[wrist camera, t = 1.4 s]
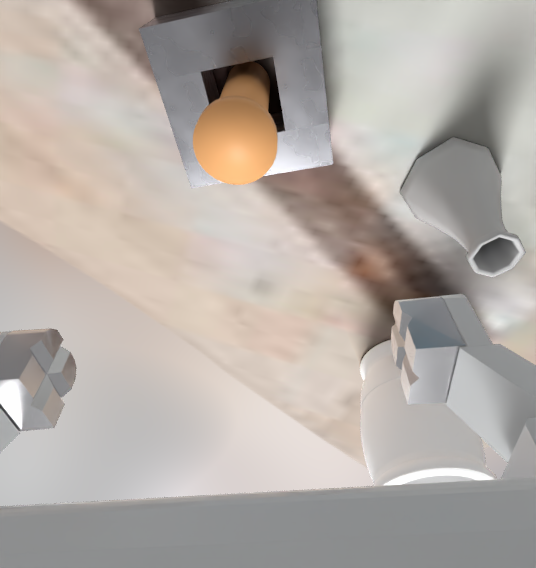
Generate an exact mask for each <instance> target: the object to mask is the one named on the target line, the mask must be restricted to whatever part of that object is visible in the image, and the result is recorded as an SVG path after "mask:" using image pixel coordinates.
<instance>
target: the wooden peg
mask: <svg viewBox="0 0 536 568" xmlns="http://www.w3.org/2000/svg"><path fill="white" fill-rule="evenodd" d="M269 94H270V79H269V76H268V74H267V72H266V70H265V69H264V68H263V67H262V66H261V65H259V64H258V63H256V62H253V61H250V62H245V63H240V64H236V65H235V66H234V67H233V68H232V69H231V71H230V72H229V74H228V77H227V80H226V82H225V85H224V88H223V91H222V93H221V96H220V98H219V99H217V100H215V101H213V102H212V103H211V104H209V105H208V106H207V107H206V108H205V109H204V111H203V112H202V114H201V115H200V117H199V119H198V122H197V124H196V126H195V129H194V133H193V149H194V153H195V155H196V158H197V160H198V162H199V164H200V165H201V166H202V168H203V169H204V170H205V171H206V172H207V173H208V174H209V175H211V176H212V177H213V178H215V179H217V180H219V181H221V182H224V183H228V184H234V185H241V184H247V183H251V182H254V181H256V180H258V179H259V178H261V177H262V176H263V175H265V174H266V173H267V172H268V170H269V169H270V168H271V166H272V165H273V163H274V161H275V158H276V154H277V141H278V135H277V129H276V125H275V123H274V120H273V118H272V117H271V115H270V114H269V112H268V107H269Z"/></svg>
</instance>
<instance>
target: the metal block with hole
mask: <svg viewBox="0 0 536 568" xmlns="http://www.w3.org/2000/svg"><path fill="white" fill-rule="evenodd" d="M139 30H140V33H141V36H142V39H143V42H144V45H145V49H146V52H147V55H148V58H149V61H150V64H151V67H152V70H153V73H154V76H155V79H156V82H157V85H158V88H159V91H160V94H161V97H162V100H163V103H164V106H165V109H166V112H167V115H168V119H169V122H170V125H171V128H172V131H173V134H174V137H175V140H176V143H177V146H178V149H179V152H180V155H181V158H182V161H183V164H184V167H185V170H186V173H187V176H188V179H189V182H190V186H191V188H194V187H200V186H206V185H212V184H218V183H224V182H221V181H219V180H217V179H215V178H213V177H212V176H211V175H209V174H208V173H207V172H206V171H205V170H204V169H203V168H202V166H201V165H200V164H199V162H198V160H197V158H196V155H195V153H194V149H193V133H194V129H195V126H196V124H197V122H198V119H199V117H200V115H201V114H202V112H203V111H204V109H205V108H206V107H207V106H208V105H209V104H211V103H212V102H213V101H215V100H217V99H219V94H218V90H217V86H216V82H215V78H214V74H213V70H212V69H216V68H221V67H226V66H231V65H236V64H240V63H245V62H250V61H255V60H260V59H265V58H270V57H273V59H274V65H275V71H276V77H277V83H278V89H279V95H280V101H281V107H282V112H277V113H272V114H270V115H271V117H272V118H273V120H274V123H275V125H276V129H277V135H278V141H277V154H276V158H275V161H274V163H273V165H272V166H271V168H270V169H269V170H268V172H267V173H266V174H265V175H263V176H266V175H272V174H278V173H284V172H290V171H296V170H302V169H308V168H314V167H320V166H326V165H332V164H333V159H332V149H331V139H330V129H329V119H328V110H327V100H326V90H325V80H324V70H323V61H322V51H321V41H320V31H319V22H318V12H317V2H316V0H231V1H227V2H222V3H218V4H213V5H209V6H205V7H200V8H196V9H191V10H187V11H183V12H178V13H174V14H169V15H165V16H160V17H156V18H154V19H152V20H151V21H150V22H148V23H147V24H145V25H144V26H142V27H141V28H139Z"/></svg>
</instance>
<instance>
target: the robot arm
mask: <svg viewBox="0 0 536 568" xmlns="http://www.w3.org/2000/svg"><path fill="white" fill-rule="evenodd" d="M393 315H394V318H395V321H396V323H395V324H394V325H393V326H392V328H391V345H392V353H393V357H394V361H395V364H396V366H397V367H398V368H399V369H401V370H402V372H401V384H402V388H403V391H404V394H405V397H406V400H407V403H408V405H411V404H436V403H446V405H447V406H448V407H449V408H450V409H451V410H452V411H453V412H454V413H455V414H456V415H457V416H458V417H459V418H461V419H462V420H463V421H464V422H465V423H466V424H467V425H468V426H469V427H470V428H471V429H472V430H473V431H474V432H475V433H476V434H477V435H479V436H480V437H481V438H482V439H483V440H484V441H485V442H486V443H487V444H488V445H489V446H490V447H491V448H492V449H493V450H495V452H497V453H498V454H499V455H500V456H501V457H502V458H503V459H504V460H505V461H506V462H507V463H508V464H507V466H506V468H505V470H504V473H503V475H502V477H501V479H494V480H476V481H457V482H439V483H421V484H402V485H384V486H366V487H348V488H329V489H311V490H293V491H276V492H256V493H239V494H220V495H201V496H185V497H184V496H183V497H164V498H146V499H128V500H109V501H91V502H72V503H54V504H35V505H19V506H0V568H536V365H534V364H532V363H531V362H529V361H527V360H526V359H524V358H522V357H521V356H519V355H518V354H516V353H514V352H513V351H511V350H509V349H508V348H506V347H504V346H503V345H501V344H494V345H493V343H492V341H491V340H490V338H489V336H488V334H487V333H486V331H485V329H484V327H483V326H482V324H481V322H480V320H479V319H478V317H477V315H476V313H475V312H474V310H473V308H472V306H471V305H470V303H469V301H468V299H467V298H466V296H465V295H463V294H455V295H445V296H439V297H427V298H416V299H404V300H395V303H394V307H393ZM62 342H63V338H62V337H61V335H60V334H59V332H58V330H55V329H36V330H18V331H9V332H0V453H1V452H2V451H3V450H4V449H5V448H6V447H7V446H8V445H9V444H10V442H12V441H13V440H14V439H15V438H16V437H17V436H18V435H19V434H20V432H19V431H28V430H38V429H49V428H54V427H55V425H56V423H57V420H58V418H59V416H60V414H61V411H62V409H63V407H64V402H63V399H62V397H63V396H64V395H65V394H66V393H67V392H69V391H70V390H71V389H72V386H73V384H74V381H75V377H76V364H75V360H74V358H73V356H72V354H71V353H70V352H69V351H68V350H66V349H64V348H63V347H61V344H62Z"/></svg>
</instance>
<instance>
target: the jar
mask: <svg viewBox="0 0 536 568" xmlns="http://www.w3.org/2000/svg"><path fill="white" fill-rule="evenodd" d="M401 372H402V370H401V369H399V368H398V367H397V366H396V364H395V361H394V357H393V353H392V345H391V340H388V341H385V342H382V343H380V344H378V345H376V346H375V347H373V348H372V349H371V350H369V351H368V352H367V353H366V354H365V356H364V357H363V359H362V361H361V364H360V373H361V376H362V378H363V380H364V382H363V386H362V390H361V416H360V433H361V442H362V448H363V453H364V457H365V461H366V465H367V468H368V471H369V474H370V476H371V479H372V481H373V483H374V485H373V486H384V485H402V484H421V483H439V482H457V481H476V480H494V479H497V477H496V476H495V474H494V473H493V472H492V471H491V470H490V469H489V468H488V467H486V460H485V453H484V448H483V444H482V440H481V437H480V436H479V435H477V434H476V433H475V432H474V431H473V430H472V429H471V428H470V427H469V426H468V425H467V424H466V423H465V422H464V421H463V420H462V419H461V418H459V417H458V416H457V415H456V414H455V413H454V412H453V411H452V410H451V409H450V408H449V407H448V406H447V405H446V403H436V404H411V405H408V403H407V400H406V397H405V394H404V391H403V388H402V384H401Z"/></svg>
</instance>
